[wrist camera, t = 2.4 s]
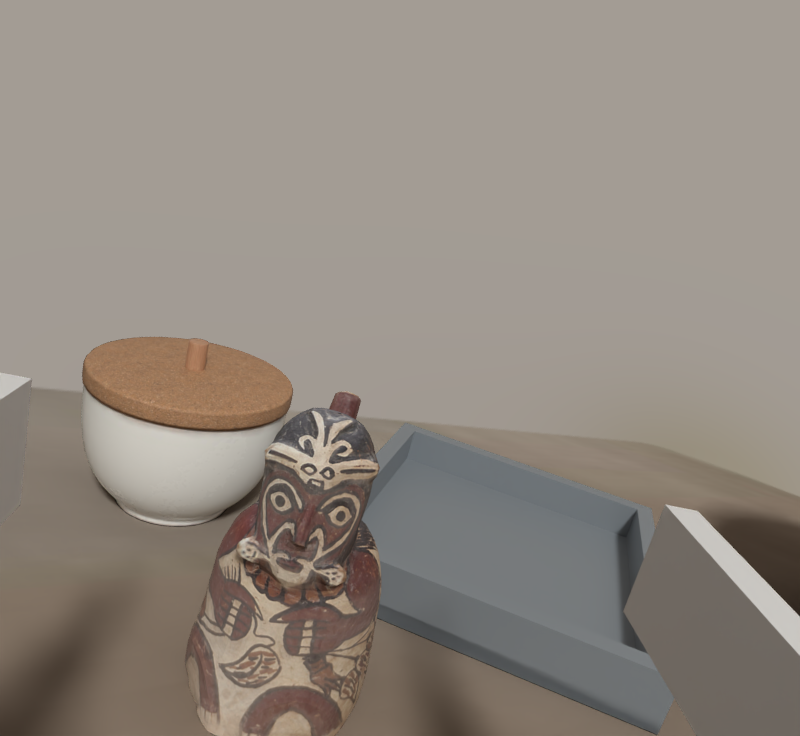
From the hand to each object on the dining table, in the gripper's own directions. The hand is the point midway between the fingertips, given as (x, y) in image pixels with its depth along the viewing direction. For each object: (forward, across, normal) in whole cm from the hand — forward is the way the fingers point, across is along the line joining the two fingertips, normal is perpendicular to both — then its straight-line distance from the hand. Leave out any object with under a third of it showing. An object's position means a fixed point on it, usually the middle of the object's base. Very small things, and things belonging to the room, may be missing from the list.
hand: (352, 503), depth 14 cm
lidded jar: (+22, -8, -14) cm, 28 cm away
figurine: (+10, 0, -14) cm, 17 cm away
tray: (+22, +11, -14) cm, 28 cm away
